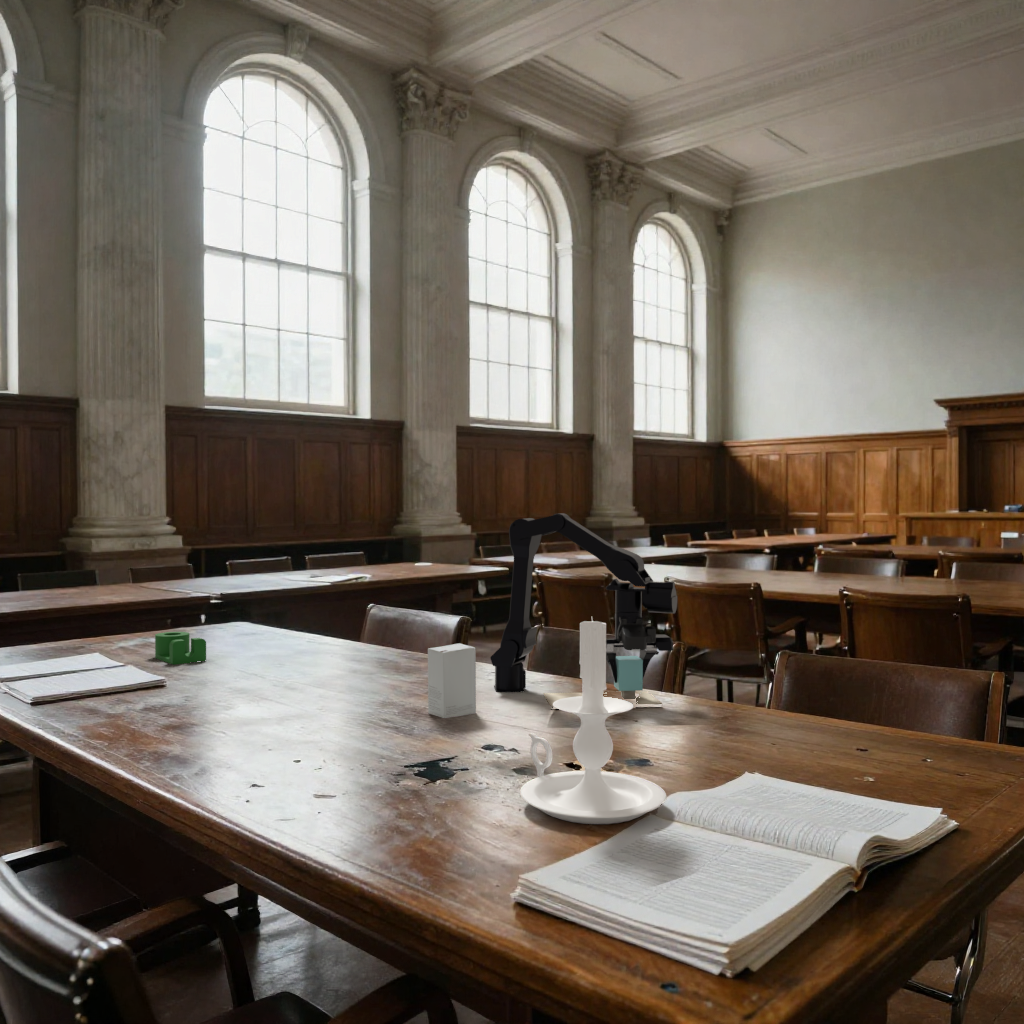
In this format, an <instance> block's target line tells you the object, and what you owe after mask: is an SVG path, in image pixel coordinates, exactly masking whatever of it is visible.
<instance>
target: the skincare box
mask: <svg viewBox="0 0 1024 1024" xmlns="http://www.w3.org/2000/svg"><path fill="white" fill-rule="evenodd" d="M476 649H477V648H476V647H474V646H472V645H467V644H463V643H461V642H459V643H454V644H447V645H443V646H436V647H430V648H429V647H428V648H427V704H428V705H427V707H428V708H427V710H428V714H429V715H432V716H436V717H439V718H443V719H448V718H454V717H455V718H456V717H460V716H461V717H462V716H467V715H473V714H477V694H476V693H477V690H476V689H477V688H476V687H477V686H476V685H477V679H476V678H477V677H476V675H477V672H476V671H477V669H476V668H477V666H476V665H477V663H476V655H477V654H476V653H477V651H476Z"/></svg>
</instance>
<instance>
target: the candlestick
mask: <svg viewBox="0 0 1024 1024" xmlns="http://www.w3.org/2000/svg"><path fill="white" fill-rule="evenodd" d="M593 619H594V618H593V616H591V621H587V620H584V621H581V622H580V623H579V661H578V662H579V665H580V666H579V667H580V669H579V670H580V673H579V678H580V679H581V683H582V684H581V687H582V689H581V690H582V692H581V693H582V696H577V697H568V698H563V699H559V700H557V701H555V702H554V703H553V706H554V707H555V708H557V709H559V710H558V711H563V712H566V713H570V714H573V715H575V716H577V717H578V718H579V719H580V725H579V729H577V732H576V733H575V735H574V738H573V741H572V751H573V754H574V756H575V758H576V759H577V761H578V763H579V764H580V765H581V766H582V767H583V768H584V770H573V771H572V770H571V771H560V772H554V773H548V774H545V773H544V771H545V769H547V768H549V767H550V766H551V765H552V762H553V750H552V746H551V744H550V742H549V741H548V740H547V739H546V738H544V737H540V736H539V735H537V734H536V733H534V732H533V733H532V732H531V733H528V736H529V737H530V739H531V744H530V756H531V757H530V758H531V759H532V762H533V764H534V766H535V768H536V774H537V777H535V778H533V779H531V780H528V781H527V782H525V783H524V784H523V785H522V786H521V788H520V790H519V794H520V797H521V799H522V800H523V801H524V802H526V803H527V804H528V805H530V806H532V807H534V808H536V809H538V810H540V811H541V812H542V813H545V814H546V815H549V816H551V817H553V818H556V819H559V820H561V821H566V822H571V823H578V824H584V825H588V824H589V825H612V824H620V823H623V822H624V823H625V822H629V821H632V820H635V819H637V818H640V817H642V816H644V815H646V814H647V813H648V812H652V811H654V810H657V809H658V808H660V807H661V806H662V805H663V804H662V802H663V801H664V800H665V799H666V800H667V797H668V796H667V792H666V791H665V790H664V789H663V788H662V787H661V786H660V785H658V784H656V783H654V782H653V781H650V780H648V779H645V778H643V777H639V776H635V775H631V774H627V773H622V772H621V773H620V772H612V771H603V770H602V768H603V767H604V766H605V765H606V764H607V763H608V762H609V760H610V759H611V757H612V755H613V752H614V743H613V739H612V737H611V734H610V733H609V730H608V729H607V727H606V720H607V718H608V717H611V716H614V715H616V714H617V715H618V714H621V713H627V712H629V711H631V710H633V709H634V708H633V707H634V705H633V704H632V703H631V702H629V701H626V700H622V699H618V698H612V697H603V692H605V691H606V690H607V687H608V686H607V660H606V639H607V623H606V622H602V621H598V620H595V621H594V620H593ZM538 744H541V745H542V747H543V748H544V750H545V755H546V756H545V757H546V758H545V761H544V762H542V761H541V760H540V759H539V756H538V753H537V747H538ZM661 804H662V805H661ZM660 805H661V806H660Z"/></svg>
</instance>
